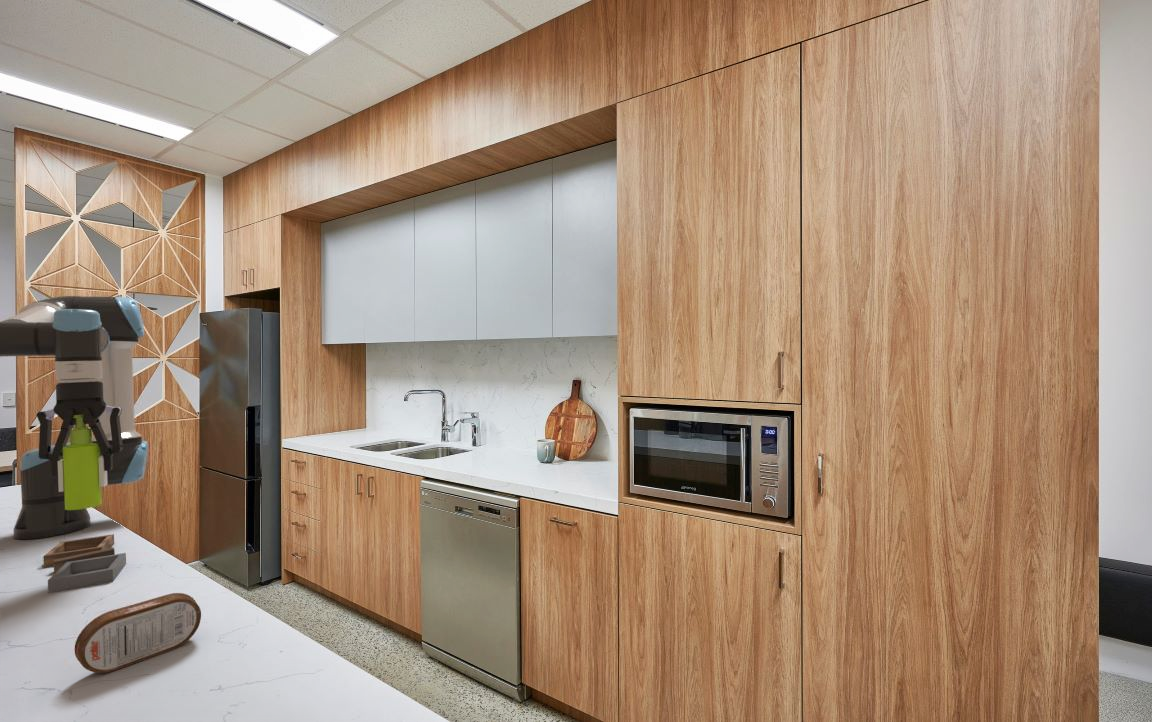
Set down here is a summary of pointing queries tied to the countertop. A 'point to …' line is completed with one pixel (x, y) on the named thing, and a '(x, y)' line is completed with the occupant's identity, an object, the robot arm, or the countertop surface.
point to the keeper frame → (68, 581)
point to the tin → (137, 632)
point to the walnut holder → (77, 548)
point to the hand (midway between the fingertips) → (83, 487)
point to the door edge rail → (82, 557)
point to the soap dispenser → (81, 469)
